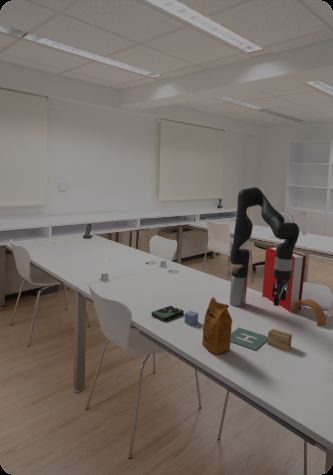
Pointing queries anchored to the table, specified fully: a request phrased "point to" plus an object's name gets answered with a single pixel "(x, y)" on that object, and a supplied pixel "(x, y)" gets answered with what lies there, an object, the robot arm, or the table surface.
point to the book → (294, 282)
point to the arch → (314, 306)
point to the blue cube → (191, 317)
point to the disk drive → (167, 313)
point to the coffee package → (217, 327)
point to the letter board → (248, 338)
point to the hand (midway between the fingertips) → (279, 302)
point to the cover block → (279, 339)
